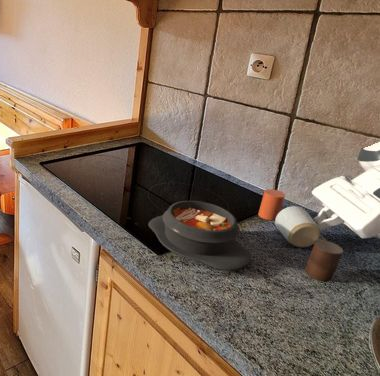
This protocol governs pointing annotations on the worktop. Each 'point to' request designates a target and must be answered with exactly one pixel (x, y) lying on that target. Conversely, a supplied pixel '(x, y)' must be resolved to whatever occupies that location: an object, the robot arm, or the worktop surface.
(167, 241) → the casserole
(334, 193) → the robot arm
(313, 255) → the walnut post
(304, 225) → the ceramic mug
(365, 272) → the worktop surface
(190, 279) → the worktop surface
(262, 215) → the terracotta post
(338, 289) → the worktop surface
